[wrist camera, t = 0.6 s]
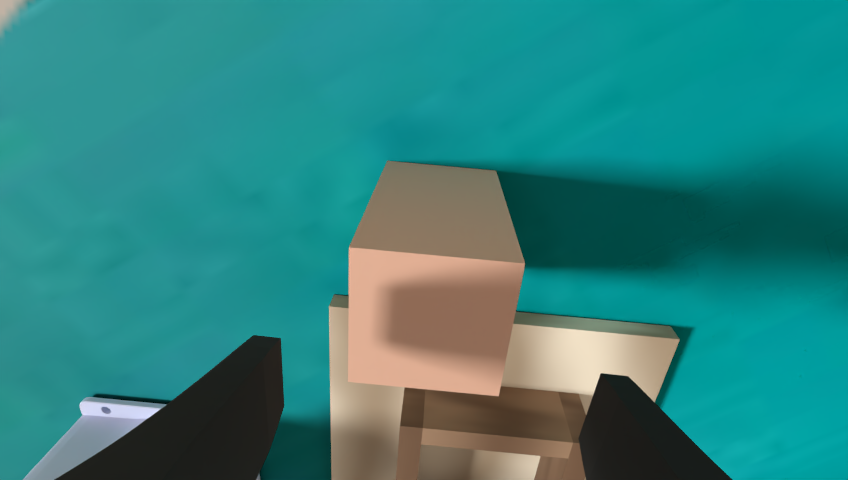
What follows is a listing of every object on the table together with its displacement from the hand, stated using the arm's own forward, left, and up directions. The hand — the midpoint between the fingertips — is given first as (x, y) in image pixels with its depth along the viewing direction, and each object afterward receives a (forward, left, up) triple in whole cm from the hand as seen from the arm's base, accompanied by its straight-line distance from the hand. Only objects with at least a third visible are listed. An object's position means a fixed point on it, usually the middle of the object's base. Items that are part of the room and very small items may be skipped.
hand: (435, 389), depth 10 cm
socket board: (+3, -13, -10) cm, 17 cm away
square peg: (0, 0, -10) cm, 10 cm away
